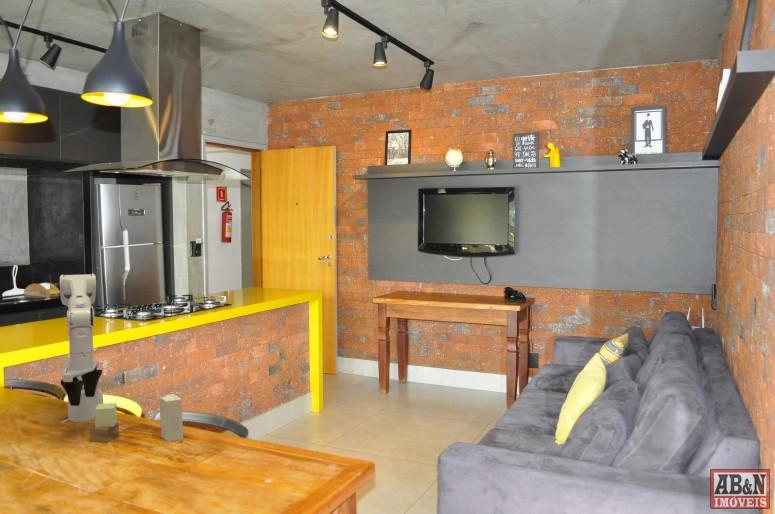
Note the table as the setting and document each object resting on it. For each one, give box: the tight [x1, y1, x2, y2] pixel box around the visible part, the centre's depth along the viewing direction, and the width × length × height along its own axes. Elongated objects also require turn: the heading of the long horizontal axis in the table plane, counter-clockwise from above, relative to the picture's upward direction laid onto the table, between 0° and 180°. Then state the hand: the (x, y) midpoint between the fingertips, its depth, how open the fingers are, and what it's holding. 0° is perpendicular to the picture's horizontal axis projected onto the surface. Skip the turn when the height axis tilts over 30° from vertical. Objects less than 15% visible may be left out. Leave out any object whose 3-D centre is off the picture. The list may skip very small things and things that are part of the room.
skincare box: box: [158, 393, 184, 445], centre depth 165 cm, size 6×4×12 cm
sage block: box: [94, 402, 118, 428], centre depth 164 cm, size 4×4×5 cm
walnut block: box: [89, 422, 120, 444], centre depth 164 cm, size 5×5×4 cm
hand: (82, 400), depth 166 cm, fingers open, 7 cm apart
